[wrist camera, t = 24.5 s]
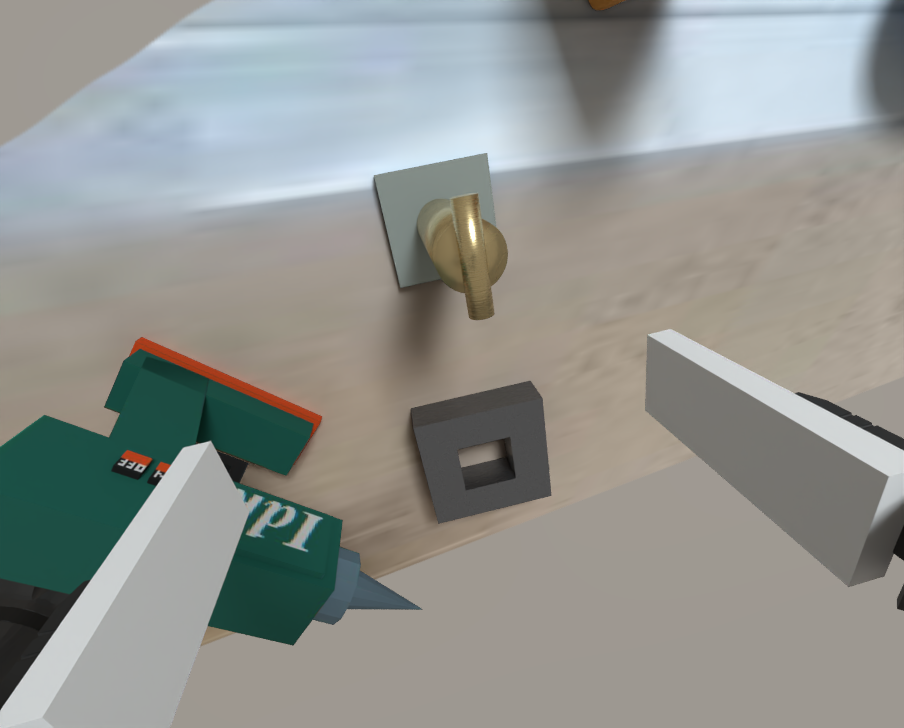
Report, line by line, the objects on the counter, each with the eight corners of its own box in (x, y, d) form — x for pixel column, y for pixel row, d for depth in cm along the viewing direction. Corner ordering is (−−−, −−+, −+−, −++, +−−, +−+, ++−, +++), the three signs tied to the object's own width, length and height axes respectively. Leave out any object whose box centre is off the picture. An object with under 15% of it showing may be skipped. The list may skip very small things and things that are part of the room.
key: (425, 266, 40) (448, 326, 25) (409, 188, 36) (425, 205, 22) (470, 257, 40) (519, 311, 25) (458, 178, 37) (506, 188, 22)
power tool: (427, 458, 50) (452, 618, 32) (397, 499, 52) (405, 671, 34) (143, 332, 39) (-58, 469, 21) (119, 389, 41) (-84, 559, 23)
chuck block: (434, 499, 53) (438, 523, 50) (411, 408, 47) (413, 428, 43) (540, 473, 54) (551, 495, 50) (530, 380, 48) (542, 397, 44)
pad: (400, 285, 41) (400, 287, 40) (374, 175, 37) (373, 175, 36) (498, 264, 42) (500, 266, 41) (484, 153, 37) (487, 153, 36)
